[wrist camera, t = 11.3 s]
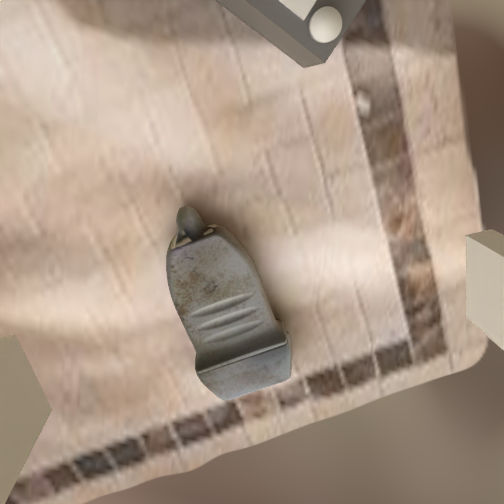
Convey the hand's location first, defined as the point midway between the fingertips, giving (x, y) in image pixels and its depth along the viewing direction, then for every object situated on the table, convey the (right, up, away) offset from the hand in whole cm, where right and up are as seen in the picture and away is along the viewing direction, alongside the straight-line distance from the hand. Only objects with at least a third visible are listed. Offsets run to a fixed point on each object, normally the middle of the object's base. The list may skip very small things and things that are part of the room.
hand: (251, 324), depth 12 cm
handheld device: (-3, -2, +30) cm, 30 cm away
